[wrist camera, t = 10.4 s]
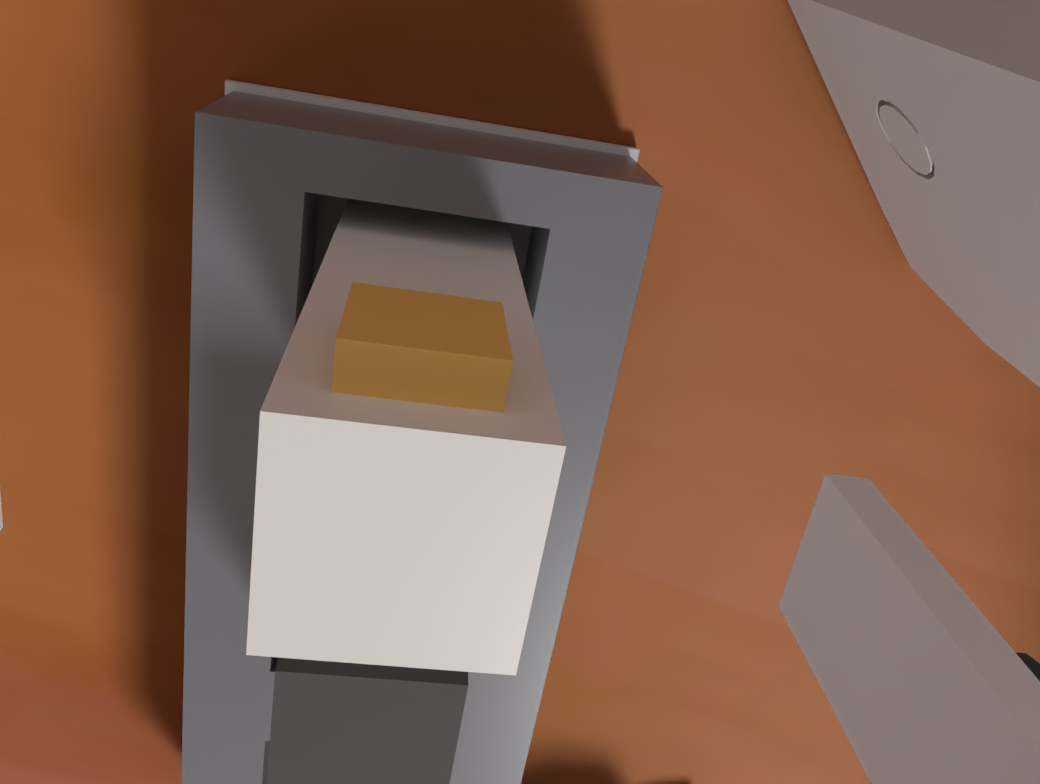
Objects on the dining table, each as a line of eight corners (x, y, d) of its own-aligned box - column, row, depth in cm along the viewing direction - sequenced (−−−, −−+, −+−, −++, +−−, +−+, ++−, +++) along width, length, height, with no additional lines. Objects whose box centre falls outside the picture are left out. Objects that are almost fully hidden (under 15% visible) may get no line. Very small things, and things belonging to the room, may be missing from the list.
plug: (511, 190, 22) (578, 392, 12) (482, 363, 24) (515, 675, 13) (352, 165, 22) (263, 353, 11) (335, 345, 24) (246, 654, 13)
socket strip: (637, 147, 23) (673, 179, 20) (490, 806, 33) (496, 908, 29) (227, 79, 22) (184, 99, 18) (203, 791, 32) (172, 896, 28)
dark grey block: (460, 487, 26) (468, 685, 19) (442, 597, 28) (442, 817, 20) (322, 472, 25) (274, 670, 18) (312, 585, 27) (264, 808, 20)
